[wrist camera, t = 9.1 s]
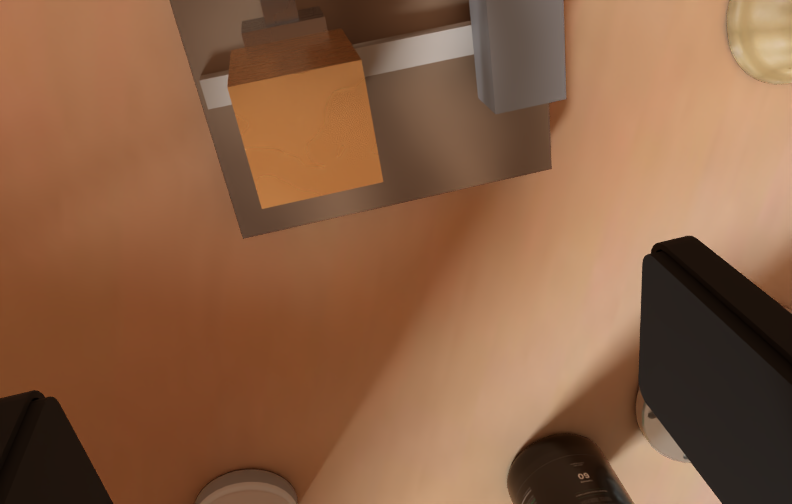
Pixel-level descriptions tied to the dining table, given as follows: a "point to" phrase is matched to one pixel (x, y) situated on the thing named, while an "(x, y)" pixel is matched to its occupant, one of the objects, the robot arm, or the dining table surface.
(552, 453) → the supplement bottle
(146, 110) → the dining table surface
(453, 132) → the gauge plate
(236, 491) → the travel mug
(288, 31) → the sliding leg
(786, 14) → the hand bell
